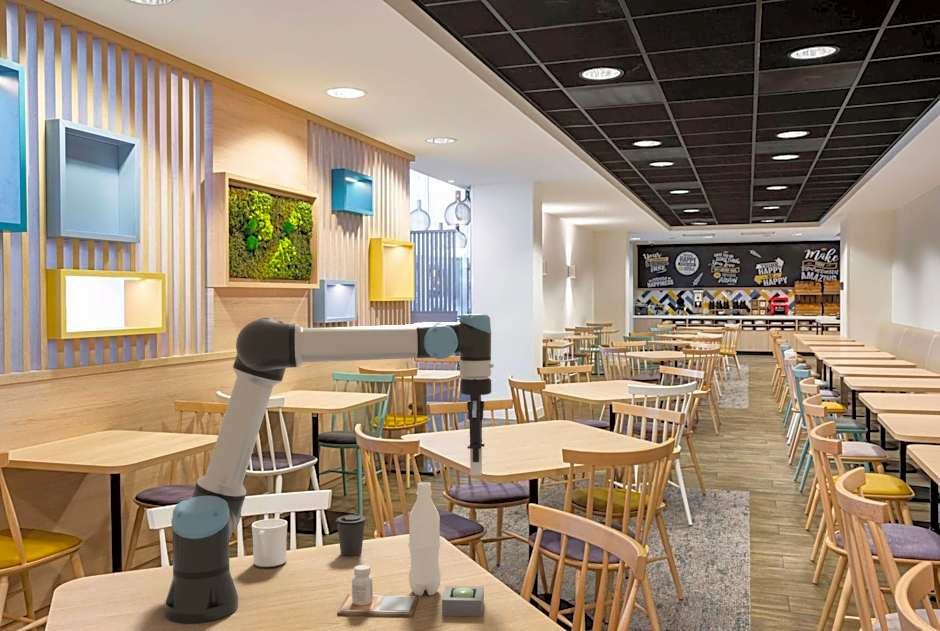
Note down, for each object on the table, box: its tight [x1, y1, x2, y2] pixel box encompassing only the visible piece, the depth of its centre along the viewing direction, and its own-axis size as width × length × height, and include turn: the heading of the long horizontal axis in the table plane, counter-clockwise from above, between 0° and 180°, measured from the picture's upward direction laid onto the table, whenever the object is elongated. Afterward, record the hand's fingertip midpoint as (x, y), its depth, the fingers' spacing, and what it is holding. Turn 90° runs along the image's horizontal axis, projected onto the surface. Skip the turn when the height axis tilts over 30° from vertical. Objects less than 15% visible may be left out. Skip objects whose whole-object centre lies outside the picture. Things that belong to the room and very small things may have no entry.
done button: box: [453, 588, 473, 598], centre depth 177 cm, size 4×4×3 cm
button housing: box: [441, 585, 485, 618], centre depth 178 cm, size 8×8×3 cm
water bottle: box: [408, 481, 441, 597], centre depth 187 cm, size 7×7×25 cm
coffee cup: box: [334, 514, 367, 558], centre depth 216 cm, size 8×8×10 cm
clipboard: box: [336, 594, 419, 618], centre depth 179 cm, size 16×10×1 cm, turn 86°
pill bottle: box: [351, 564, 374, 606], centre depth 179 cm, size 4×4×8 cm
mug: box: [251, 518, 288, 570], centre depth 207 cm, size 11×9×10 cm
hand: (476, 474), depth 199 cm, fingers closed
